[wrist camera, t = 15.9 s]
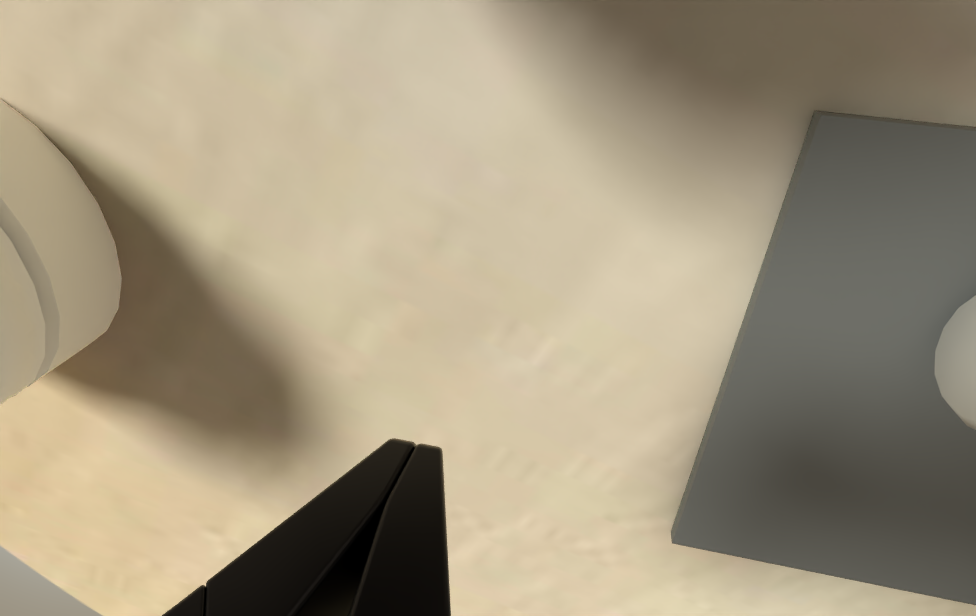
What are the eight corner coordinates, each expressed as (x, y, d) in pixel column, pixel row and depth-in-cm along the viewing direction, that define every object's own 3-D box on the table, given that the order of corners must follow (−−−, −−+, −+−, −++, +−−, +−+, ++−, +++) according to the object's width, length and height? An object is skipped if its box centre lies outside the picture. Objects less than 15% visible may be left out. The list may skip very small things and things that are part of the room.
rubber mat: (814, 110, 16) (821, 114, 16) (1401, 170, 14) (1430, 177, 14) (671, 531, 25) (672, 543, 25) (1020, 602, 24) (1028, 616, 23)
